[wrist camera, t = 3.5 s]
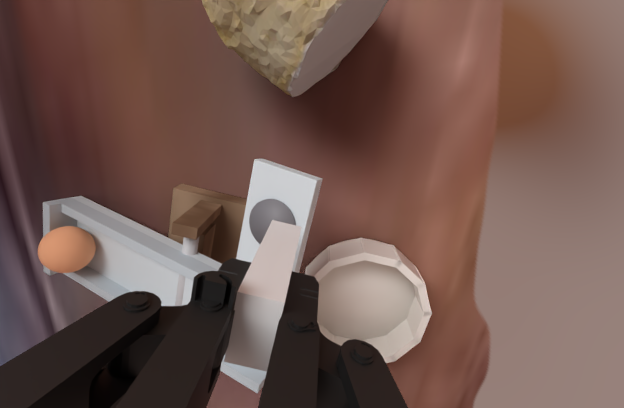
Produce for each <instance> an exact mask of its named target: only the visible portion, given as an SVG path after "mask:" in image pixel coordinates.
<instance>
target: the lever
mask: <svg viewBox="0 0 624 408" xmlns="http://www.w3.org/2000/svg"><path fill="white" fill-rule="evenodd" d="M321 183H322V178H319V177H316V176H313V175H310V174H307V173H304V172H301V171H298V170H295V169H292V168H289V167H286V166H283V165H280V164H277V163H274V162H271V161H268V160H265V159H254V165H253V170H252V176H251V181H250V186H249V192H248V197H247V203H246V208H245V213H244V219H243V224H242V230H241V235H240V241H239V246H238V251H237V257H236V259H238V260H243V261H247V262H251V263H252V261H253V259H254V257H255V254H256V252H257V250H258V248H259V246H260V244H261V242H262V240H263V238H264V236H265V234H266V232H267V230H268V228H269V226H270V224H271V222H272V220H275V221H279V222H283V223H288V224H292V225H296V226H300V227H302V228H301V232H300V237H299V241H298V246H297V250H296V255H295V259H294V264H293V268H292V271H293V272H297V273H299V271H300V267H301V263H302V259H303V255H304V251H305V247H306V243H307V239H308V235H309V231H310V227H311V223H312V219H313V215H314V211H315V207H316V203H317V199H318V195H319V191H320V187H321ZM64 226H74V227H79V228H82V229H84V230H85V231H87V232H88V233H89V234H90V235H91V236H92V237H93V239H94V241H95V245H96V250H95V254H94V257H93V258H92V260H91V261H90V262H89V264H87V265H86V266H85V267H83V268H82V269H80V270H78V271H75V272H70V273H63V274H65V275H66V276H68V277H70V278H71V279H73V280H75V281H76V282H78V283H79V284H81V285H83V286H84V287H86V288H88V289H89V290H91V291H92V292H94V293H96V294H97V295H99V296H100V297H102V298H104V299H105V300H107V301H109V302H110V301H111V300H113V299H115V298H116V297H118V296H120V295H123V294H125V293H128V292H133V291H146V292H150V293H154V294H155V295H157V296H158V297H159V298H160V300H161V306H182V305H187V304H188V303H189V302H190V300H191V294H192V287H193V280H194V277H195V276H196V275H197V274H199V273H202V272H205V271H218V270H219V268H220V267H221V265H222V264H221V263H219V262H217V261H215V260H213V259H211V258H209V257H207V256H205V255H203V254H201V253H199V252H197V250H198V243H199V237H198V238H197V240H194V239H190V238H186V237H184V238H183V245H182V244H180V243H178V242H176V241H174V240H172V239H170V238H168V237H166V236H163V235H161V234H159V233H157V232H155V231H153V230H151V229H149V228H147V227H145V226H143V225H141V224H139V223H137V222H134V221H132V220H130V219H128V218H126V217H124V216H122V215H120V214H118V213H116V212H114V211H112V210H110V209H108V208H106V207H103V206H101V205H99V204H97V203H95V202H93V201H91V200H89V199H87V198H85V197H83V196H77V197H71V198H65V199H58V200H52V201H46V202H43V237H44V236H45V235H46V234H47V233H49V232H50V231H52V230H54V229H56V228H59V227H64ZM44 272H45V273H46V274H48V275H49V276H51V275H54V274H56V273H59V272H54V271H52V270H50V269H48V268H46V267H45V266H44ZM224 358H225V355H224ZM224 358H223V360H222V363H221V368H220V371H222V372H223V373H225V374H227V375H228V376H230V377H232V378H233V379H235V380H236V381H238V382H240V383H241V384H243V385H244V386H246V387H248V388H249V389H251V390H253V391H254V392H256V393H258V392H259V391H260V390H261V388H262V387H263V385H264V381H265V377H266V373H267V371H262V370H258V369H254V368H249V367H245V366H241V365H236V364H232V363H228V362H224Z"/></svg>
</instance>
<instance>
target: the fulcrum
mask: <svg viewBox="0 0 624 408" xmlns="http://www.w3.org/2000/svg"><path fill="white" fill-rule="evenodd" d="M246 203H247V199H245V198H241V197H236V196H232V195H228V194H224V193H219V192H215V191H211V190H207V189H203V188H198V187H194V186H190V185H186V184H180V185H178V186H177V187H175V188H173V197H172V206H171V215H170V224H169V233H168V238H170V239H172V240H174V241H176V242H178V243H180V244H182V245H183V238H184V237H186V238H190V239H194V240H197V238H198V237H199V243H198V250H197V252H199V253H201V254H203V255H205V256H207V257H209V258H211V259H213V260H215V261H217V262H219V263H221V264H223V262H225V261H227V260H229V259H231V258H234V259H236V257H237V251H238V246H239V241H240V235H241V230H242V224H243V219H244V213H245V208H246Z"/></svg>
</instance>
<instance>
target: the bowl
mask: <svg viewBox="0 0 624 408" xmlns="http://www.w3.org/2000/svg"><path fill="white" fill-rule="evenodd" d="M305 274H306V275H310V276H314V277H315V278H316V280H317V281H318V283H319V297H318V315H317V323H318V324H319V328H320V332H321V333H322V334H323V335H324V336H325V337H326V338H327V339H329V340H331V341H332V342H334V343H336V344H338V345H340V346H342V344H343V343H344V342H346V341H347V340H352V339H357V340H362V341H365V342H367V343H369V344H371V345H372V346H374V347H375V348H376V349H377V350H378V351H379V352H380V354H381V355H382V356H383V359H384V361H385V363H389V362H395V361H396V360H397V359H399V358H400V357H401V356H403V355H404V354H405V353H406V352H408V351H409V350H410V349H412V348H413V347H414V346H416V345H417V344H418V343H420V342H421V339H422V337H423V334H424V332H425V329H426V327H427V324H428V322H429V319H430V317H431V315H432V311H431V308H430V304H429V299H428V295H427V290H426V286H425V285H426V284H425V282H424V280H423V279H422V277H421V275H420V273H419V271H418V269H417V268H416V266H415V265H414V264H413V263H411V262H410V261H409V260H408V259H407V258H406V256H405V255H404V254H402V253H401V252H400V251H399V250H398V249H397V248H395V246H394V245H390V244H386V243H384V242H381V241H377V240H372V239H364V238H358V239H350V240H345V241H342V242H339V243H336V244H334V245H331V246H330V245H329V246H328V247H327V248H326V249H325V250H323V251H322V252H321V253H320V254H319V255H317V256H316V257H315V259H314V260H313V261H312V262H311V263H310V264H309V265H308V266H307V267H306V270H305Z"/></svg>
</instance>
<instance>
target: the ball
mask: <svg viewBox="0 0 624 408" xmlns="http://www.w3.org/2000/svg"><path fill="white" fill-rule="evenodd" d="M95 250H96V245H95V241H94V239H93V237H92V236H91V235H90V234H89V233H88V232H87V231H85V230H84V229H82V228H79V227H74V226H64V227H59V228H56V229H54V230H52V231H50V232H49V233H47V234H46V235H45V236H44V237H43V238H42V240H41V241H40V244H39V247H38V256H39V259H40V261H41V263H42V264H43V265H44V266H45V267H46V268H48V269H50V270H52V271H54V272H59V273H70V272H75V271H78V270H80V269H82V268H83V267H85V266H86V265H87V264H89V262H90V261H91V260H92V258H93V257H94V254H95Z"/></svg>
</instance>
